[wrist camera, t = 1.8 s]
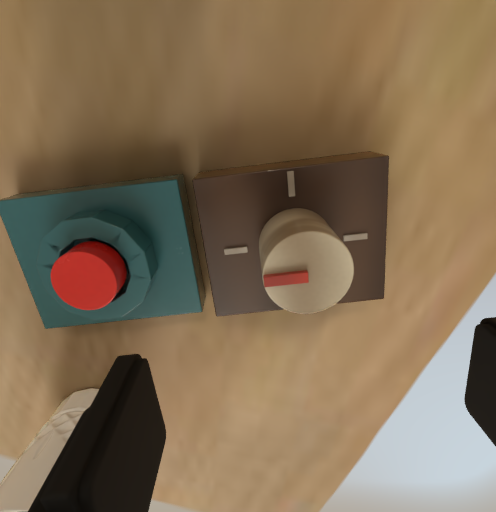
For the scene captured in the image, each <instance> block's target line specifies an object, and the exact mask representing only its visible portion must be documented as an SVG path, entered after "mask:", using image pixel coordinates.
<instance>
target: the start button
mask: <svg viewBox="0 0 496 512" xmlns="http://www.w3.org/2000/svg"><path fill="white" fill-rule="evenodd" d="M126 276H127V270H126V265H125V263H124V261H123V259H122V257H121V256H120V254H119V253H118V252H117V251H116V250H114V249H113V248H112V247H110V246H108V245H106V244H104V243H101V242H96V241H87V242H82V243H80V244H78V245H76V246H74V247H73V248H72V249H70V250H69V251H68V252H66V253H65V254H63V255H62V256H61V257H59V258H58V259H57V260H56V261H55V263H54V265H53V267H52V270H51V283H52V286H53V288H54V290H55V292H56V293H57V295H58V296H59V297H60V298H61V299H62V300H63V301H64V302H66V303H67V304H69V305H71V306H73V307H75V308H78V309H82V310H96V309H100V308H102V307H105V306H106V305H108V304H109V303H110V302H111V301H112V300H113V298H114V297H115V296H116V294H117V293H118V292H119V290H120V289H121V288H122V286H123V285H124V283H125V281H126Z"/></svg>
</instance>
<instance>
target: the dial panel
mask: <svg viewBox="0 0 496 512" xmlns="http://www.w3.org/2000/svg"><path fill="white" fill-rule="evenodd" d="M388 168H389V156H387V155H383V154H379V153H374V152H370V151H369V152H361V153H353V154H345V155H336V156H328V157H320V158H312V159H303V160H295V161H287V162H279V163H270V164H262V165H254V166H246V167H237V168H229V169H221V170H213V171H204V172H199V173H198V174H197V175H196V176H195V177H194V179H193V180H192V181H193V186H194V192H195V198H196V204H197V209H198V215H199V221H200V226H201V232H202V238H203V244H204V249H205V255H206V261H207V267H208V272H209V278H210V284H211V289H212V295H213V301H214V307H215V312H216V316H226V315H235V314H245V313H254V312H263V311H273V310H282V309H283V308H281V307H280V306H278V305H277V304H276V303H275V302H274V301H273V300H272V299H271V298H270V297H269V295H268V294H267V292H266V290H265V287H264V284H263V278H262V270H261V261H260V253H259V238H260V234H261V232H262V229H263V228H264V226H265V225H266V223H267V222H268V221H269V220H270V219H271V218H272V217H273V216H275V215H276V214H278V213H280V212H282V211H284V210H287V209H292V208H302V209H307V210H310V211H313V212H315V213H317V214H318V215H320V216H321V217H322V218H323V219H324V220H325V221H326V223H327V224H328V225H329V226H330V227H331V229H332V230H333V231H334V232H335V234H336V235H337V236H338V237H339V238H340V240H341V241H342V242H343V243H344V244H345V246H346V247H347V248H348V250H349V252H350V254H351V256H352V259H353V263H354V275H353V280H352V283H351V285H350V287H349V289H348V291H347V293H346V294H345V295H344V296H343V298H342V299H341V300H340V301H339V302H337V303H336V304H338V303H347V302H357V301H366V300H375V299H383V298H384V284H385V255H386V226H387V197H388Z"/></svg>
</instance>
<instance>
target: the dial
mask: <svg viewBox="0 0 496 512" xmlns="http://www.w3.org/2000/svg"><path fill="white" fill-rule="evenodd" d="M259 253H260V261H261V270H262V278H263V284H264V287H265V290H266V292H267V294H268V295H269V297H270V298H271V299H272V300H273V301H274V302H275V303H276V304H277V305H278V306H280V307H281V308H283V309H285V310H287V311H290V312H293V313H298V314H312V313H317V312H321V311H324V310H326V309H328V308H330V307H332V306H333V305H335V304H336V303H337V302H339V301H340V300H341V299H342V298H343V296H344V295H345V294H346V293H347V291H348V289H349V287H350V285H351V283H352V280H353V275H354V263H353V259H352V256H351V254H350V252H349V250H348V248H347V247H346V246H345V244H344V243H343V242H342V241H341V240H340V238H339V237H338V236H337V235H336V234H335V232H334V231H333V230H332V229H331V227H330V226H329V225H328V224H327V223H326V221H325V220H324V219H323V218H322V217H321V216H320V215H318V214H317V213H315V212H313V211H310V210H307V209H302V208H292V209H287V210H284V211H282V212H280V213H278V214H276V215H275V216H273V217H272V218H271V219H270V220H269V221H268V222H267V223H266V225H265V226H264V228H263V229H262V232H261V234H260V238H259Z"/></svg>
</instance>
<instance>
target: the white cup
mask: <svg viewBox="0 0 496 512" xmlns="http://www.w3.org/2000/svg"><path fill="white" fill-rule="evenodd" d="M98 391H99V389H94V388H89V389H85V390H80V391H76V392H73V393H72V394H71V395H70V396H68V397H67V398H66V399H65V400H63V401H62V402H61V404H60V405H59V406H58V408H57V409H56V411H55V412H54V413H53V415H52V416H51V418H50V419H49V420H48V422H47V423H46V424H45V425H44V426H43V427H42V428H41V429H40V431H39V432H38V433H37V434H36V436H35V437H34V439H33V440H32V442H31V443H30V444H29V445H28V447H27V448H26V449H25V450H24V452H23V453H22V454H21V455H20V457H19V458H18V460H17V461H16V462H15V464H14V465H13V466H12V468H11V469H10V471H9V472H8V474H7V475H6V476H5V477H4V479H3V480H2V482H1V483H0V512H28V510H29V508H30V507H31V505H32V503H33V501H34V499H35V498H36V496H37V494H38V492H39V490H40V489H41V487H42V485H43V483H44V482H45V480H46V478H47V476H48V474H49V473H50V471H51V469H52V467H53V465H54V464H55V462H56V460H57V458H58V456H59V455H60V453H61V451H62V449H63V448H64V446H65V444H66V442H67V440H68V439H69V437H70V435H71V433H72V431H73V430H74V428H75V426H76V424H77V422H78V421H79V419H80V417H81V415H82V414H83V412H84V411H85V410H86V409H87V408H89V407H90V406H91V404H92V402H93V400H94V398H95V397H96V395H97V393H98Z"/></svg>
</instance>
